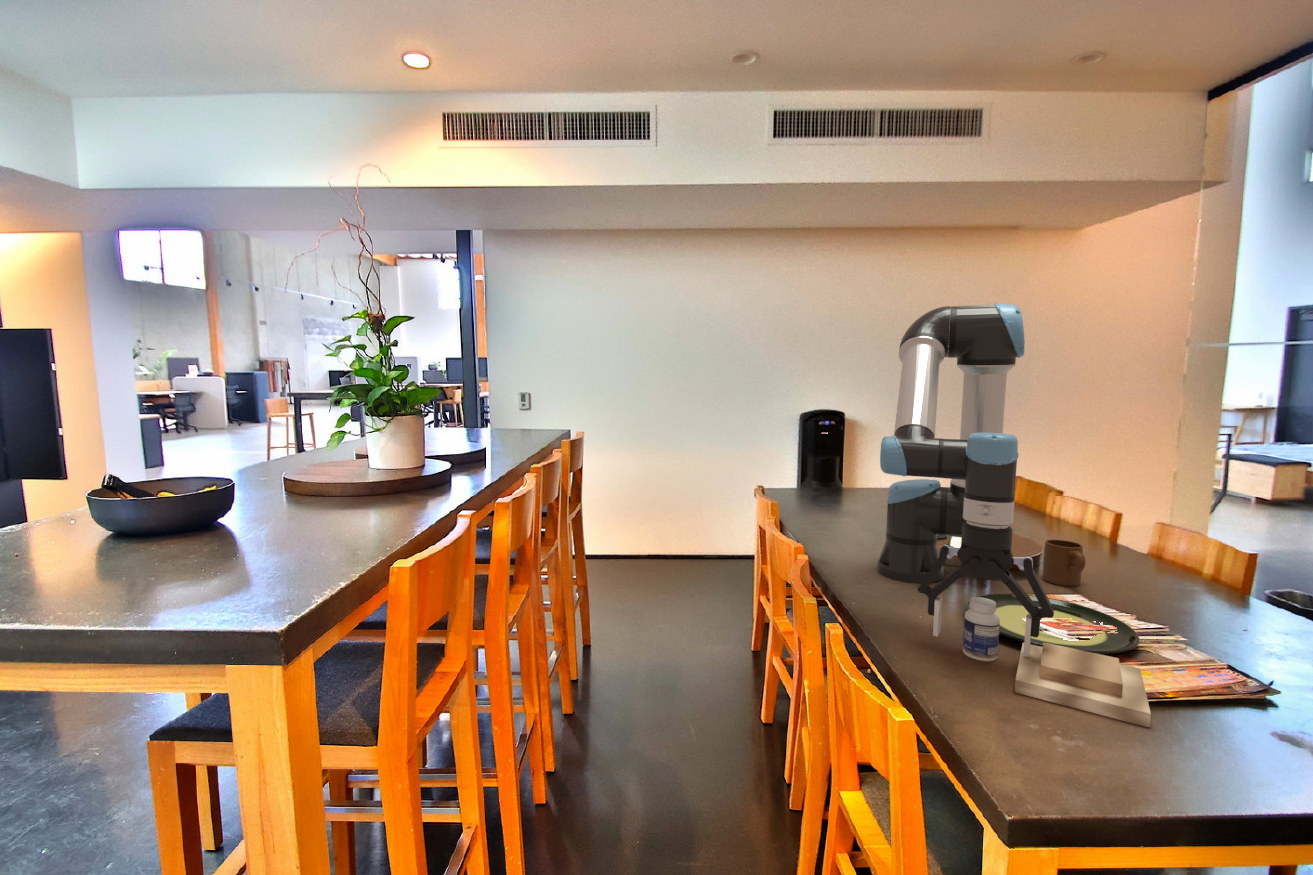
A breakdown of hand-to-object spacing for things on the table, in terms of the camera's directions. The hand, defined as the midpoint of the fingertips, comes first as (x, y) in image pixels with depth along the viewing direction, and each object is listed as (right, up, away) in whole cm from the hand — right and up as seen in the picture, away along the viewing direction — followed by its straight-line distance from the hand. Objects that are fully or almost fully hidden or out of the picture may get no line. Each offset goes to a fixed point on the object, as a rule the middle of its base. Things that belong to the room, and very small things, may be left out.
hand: (979, 644), depth 103 cm
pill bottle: (0, -2, 0) cm, 2 cm away
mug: (+40, +1, +37) cm, 55 cm away
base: (+10, -3, -10) cm, 14 cm away
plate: (+19, -2, +12) cm, 22 cm away
